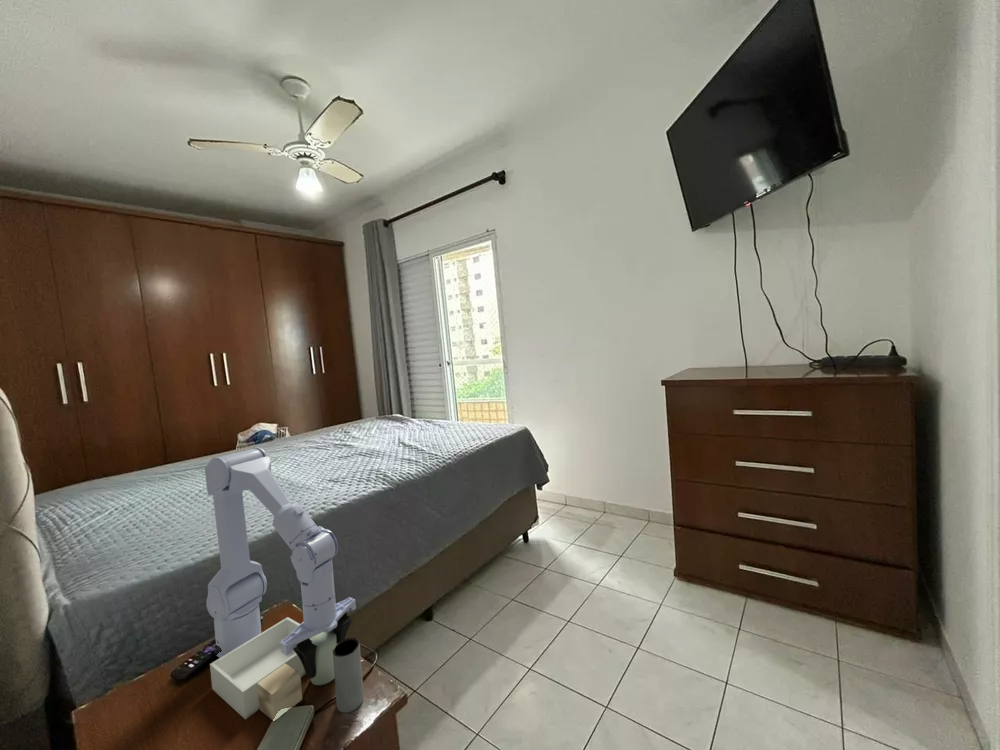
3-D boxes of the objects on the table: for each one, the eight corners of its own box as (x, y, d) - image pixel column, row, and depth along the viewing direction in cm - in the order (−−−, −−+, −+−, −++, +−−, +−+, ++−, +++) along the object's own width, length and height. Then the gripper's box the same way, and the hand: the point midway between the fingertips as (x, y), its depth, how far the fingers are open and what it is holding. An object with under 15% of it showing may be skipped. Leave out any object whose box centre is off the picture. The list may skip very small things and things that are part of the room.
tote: (212, 689, 74) (209, 664, 74) (289, 638, 87) (287, 617, 86) (245, 719, 67) (242, 692, 67) (324, 659, 80) (322, 636, 80)
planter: (354, 714, 67) (350, 657, 66) (331, 711, 68) (326, 655, 67) (368, 692, 71) (364, 638, 71) (346, 689, 72) (342, 636, 72)
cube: (259, 709, 69) (257, 682, 69) (287, 688, 73) (285, 663, 73) (274, 722, 66) (271, 694, 66) (302, 699, 71) (300, 673, 70)
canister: (305, 678, 74) (302, 643, 74) (328, 660, 78) (326, 627, 78) (320, 689, 72) (317, 653, 71) (344, 670, 76) (341, 635, 76)
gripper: (293, 627, 66) (299, 702, 67) (363, 582, 78) (368, 647, 79) (271, 614, 70) (277, 686, 70) (341, 574, 82) (346, 635, 83)
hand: (324, 664), depth 75 cm, fingers closed on canister, 5 cm apart
